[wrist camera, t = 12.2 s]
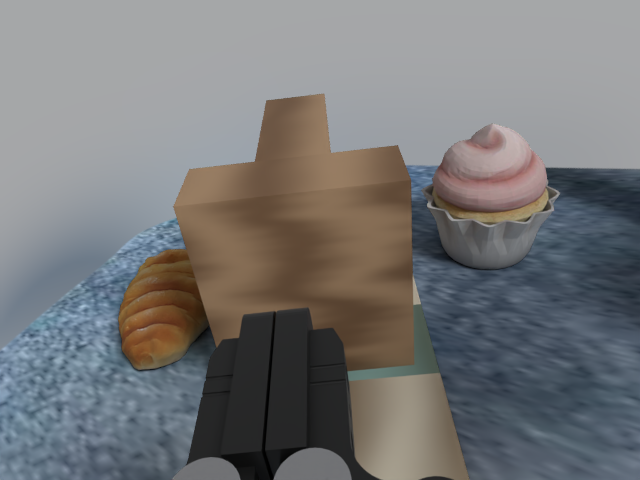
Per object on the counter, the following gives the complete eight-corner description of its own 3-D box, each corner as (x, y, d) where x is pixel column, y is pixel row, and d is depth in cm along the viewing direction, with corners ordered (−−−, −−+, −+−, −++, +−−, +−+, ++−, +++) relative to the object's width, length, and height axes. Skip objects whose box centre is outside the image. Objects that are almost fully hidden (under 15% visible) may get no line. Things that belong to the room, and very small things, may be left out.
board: (399, 229, 43) (399, 225, 43) (524, 688, 18) (526, 684, 18) (244, 245, 44) (243, 241, 44) (156, 711, 19) (153, 707, 18)
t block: (383, 235, 42) (375, 87, 35) (414, 364, 30) (411, 179, 24) (248, 249, 42) (216, 106, 36) (227, 383, 31) (173, 206, 24)
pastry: (209, 371, 32) (194, 326, 30) (103, 383, 33) (81, 339, 31) (226, 279, 40) (215, 238, 38) (141, 290, 41) (125, 249, 38)
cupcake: (397, 255, 40) (393, 133, 35) (463, 205, 45) (468, 91, 40) (511, 303, 34) (527, 165, 29) (572, 239, 39) (596, 111, 34)
